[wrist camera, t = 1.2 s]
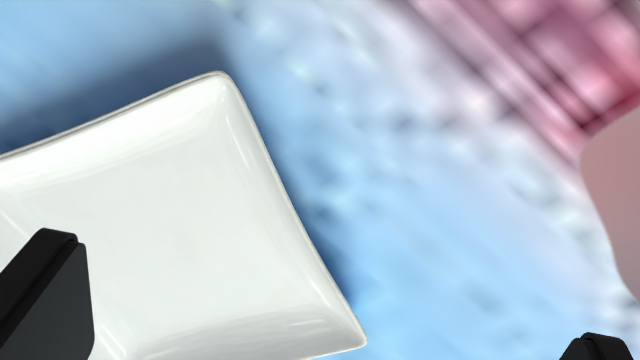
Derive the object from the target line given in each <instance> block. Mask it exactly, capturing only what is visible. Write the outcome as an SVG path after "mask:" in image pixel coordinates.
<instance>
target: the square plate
mask: <svg viewBox="0 0 640 360" xmlns="http://www.w3.org/2000/svg"><path fill="white" fill-rule="evenodd" d="M41 228H49V229H54V230H59V231H65V232H70V233H74V234H76V236H77V238H78V242H80V243H84V244H85V246H86V252H87V262H88V272H89V282H90V292H91V302H92V312H93V322H94V332H95V341H94V346H93V349H92V352H91V354H90V356H89V358H88V360H308V359H312V358H317V357H322V356H326V355H331V354H335V353H340V352H345V351H350V350H354V349H358V348H361V347H364V346H366V345H367V343H368V340H367V337H366V334H365V332H364V330H363V328H362V326H361V324H360V322H359V320H358V319H357V317H356V315H355V314H354V312H353V310H352V309H351V307H350V305H349V304H348V302H347V301H346V299H345V297H344V296H343V294H342V292H341V291H340V289H339V288H338V286H337V284H336V283H335V281H334V279H333V278H332V276H331V274H330V273H329V271H328V269H327V268H326V266H325V264H324V262H323V261H322V259H321V257H320V255H319V254H318V252H317V250H316V248H315V247H314V245H313V243H312V241H311V240H310V238H309V236H308V234H307V232H306V230H305V228H304V226H303V224H302V222H301V220H300V219H299V217H298V215H297V213H296V211H295V209H294V207H293V205H292V203H291V200H290V198H289V196H288V194H287V192H286V190H285V188H284V186H283V183H282V181H281V179H280V177H279V175H278V173H277V170H276V168H275V166H274V164H273V162H272V160H271V157H270V155H269V153H268V151H267V148H266V146H265V144H264V142H263V139H262V137H261V135H260V133H259V130H258V128H257V126H256V124H255V122H254V119H253V117H252V115H251V113H250V111H249V109H248V107H247V105H246V103H245V101H244V99H243V97H242V95H241V93H240V91H239V89H238V88H237V86H236V85H235V83H234V81H233V80H232V78H231V77H230V76H229V75H228V74H227V73H225V72H224V71H220V70H214V71H210V72H207V73H203V74H200V75H197V76H194V77H192V78H189V79H187V80H184V81H182V82H179V83H176V84H174V85H171V86H169V87H167V88H165V89H162V90H160V91H158V92H156V93H153V94H151V95H149V96H146V97H144V98H142V99H139V100H137V101H135V102H132V103H130V104H128V105H126V106H123V107H121V108H119V109H116V110H114V111H112V112H109V113H107V114H104V115H102V116H100V117H97V118H95V119H92V120H90V121H88V122H85V123H83V124H81V125H78V126H76V127H73V128H71V129H68V130H65V131H63V132H60V133H58V134H55V135H52V136H50V137H47V138H44V139H42V140H39V141H36V142H33V143H31V144H28V145H25V146H22V147H20V148H17V149H14V150H11V151H8V152H5V153H2V154H0V272H1V271H2V270H3V269H4V268H5V267H6V266H7V265H8V263H9V262H10V261H11V260H12V259H13V258H14V257H15V255H16V254H17V253H18V252H19V251H20V250H21V249H22V247H23V246H24V245H25V244H26V243H27V242H28V241H29V240H30V238H31V237H32V236H33V235H34V234H35V233H36V232H37V231H38V230H39V229H41Z"/></svg>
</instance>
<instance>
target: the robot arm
mask: <svg viewBox="0 0 640 360" xmlns="http://www.w3.org/2000/svg"><path fill="white" fill-rule="evenodd" d="M94 341H95V332H94V322H93V312H92V302H91V292H90V282H89V272H88V262H87V252H86V246H85V244H84V243H80V242H78V238H77V236H76V234H74V233H70V232H65V231H59V230H54V229H49V228H41V229H39V230H38V231H37V232H36V233H35V234H34V235H33V236H32V237H31V238H30V240H29V241H28V242H27V243H26V244H25V245H24V246H23V247H22V249H21V250H20V251H19V252H18V253H17V254H16V255H15V257H14V258H13V259H12V260H11V261H10V262H9V263H8V265H7V266H6V267H5V268H4V269H3V270H2V271H1V272H0V360H88V358H89V356H90V354H91V352H92V349H93V346H94ZM559 360H634V359H633V358H632V356H631V354H630V352H629V350H628V348H627V346H626V344H625V343H624V341H623V340H621V339H620V338H616V337H611V336H606V335H601V334H596V333H590V332H587V333H584V334H583V335H582V336H581V337H580V338H575V339H573V341H572V342H571V343H570V345H569V346H568V347H567V349H566V350H565V352H564V353H563V355H562V356H561V358H560V359H559Z"/></svg>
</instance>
